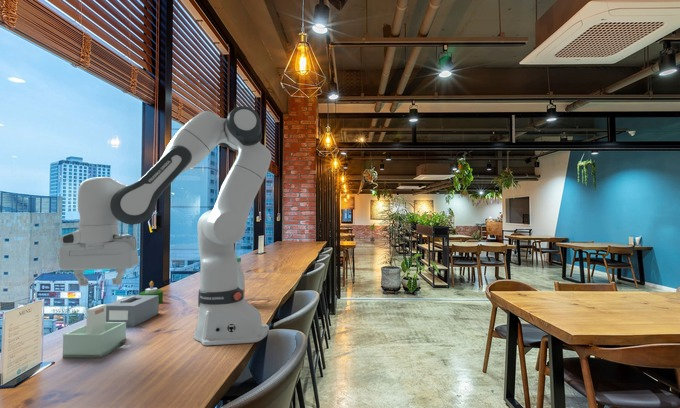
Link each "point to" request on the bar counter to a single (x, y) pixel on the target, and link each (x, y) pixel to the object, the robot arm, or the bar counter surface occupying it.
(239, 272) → the milk bottle
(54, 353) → the bar counter surface
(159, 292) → the candle
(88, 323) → the pale bar
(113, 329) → the stub box
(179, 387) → the bar counter surface
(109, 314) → the block
